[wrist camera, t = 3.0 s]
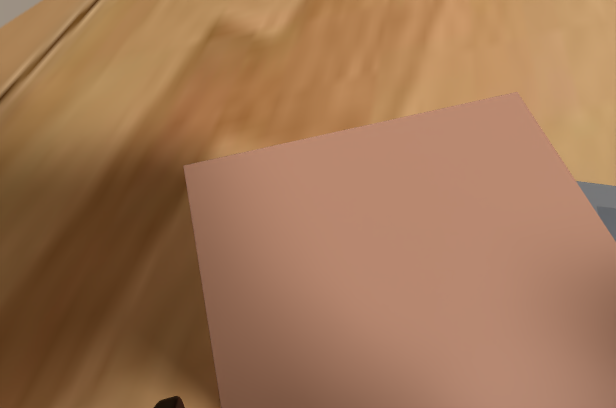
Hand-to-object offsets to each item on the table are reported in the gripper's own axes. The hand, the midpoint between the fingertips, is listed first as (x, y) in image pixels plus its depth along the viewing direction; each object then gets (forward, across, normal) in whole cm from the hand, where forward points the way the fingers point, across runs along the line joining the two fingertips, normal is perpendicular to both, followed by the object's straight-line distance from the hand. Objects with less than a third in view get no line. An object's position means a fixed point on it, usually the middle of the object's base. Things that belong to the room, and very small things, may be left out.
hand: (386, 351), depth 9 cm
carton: (+6, 0, +6) cm, 8 cm away
